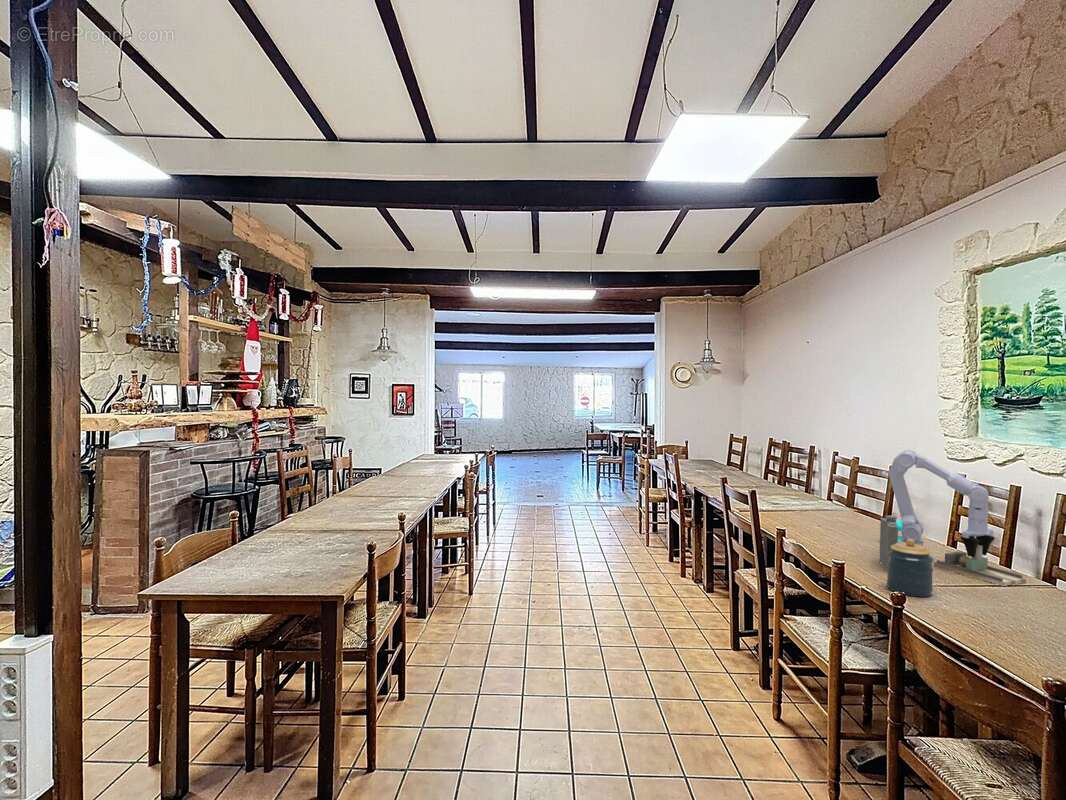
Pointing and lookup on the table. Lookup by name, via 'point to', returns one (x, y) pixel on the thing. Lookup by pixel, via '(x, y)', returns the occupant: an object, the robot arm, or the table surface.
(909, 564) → the canister
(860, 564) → the table surface
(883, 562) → the hip flask
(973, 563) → the sliding jaw
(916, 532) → the robot arm
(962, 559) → the walnut
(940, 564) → the base
